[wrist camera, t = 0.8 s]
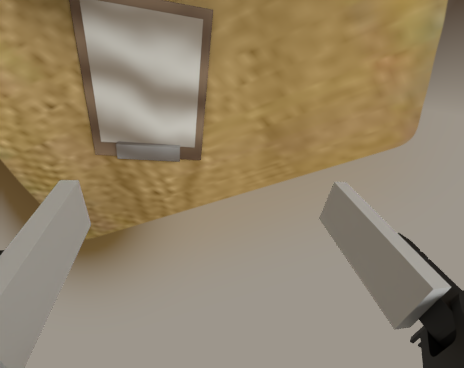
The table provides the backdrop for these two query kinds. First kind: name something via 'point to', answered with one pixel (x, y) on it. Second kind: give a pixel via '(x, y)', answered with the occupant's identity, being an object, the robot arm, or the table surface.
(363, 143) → the table surface
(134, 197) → the table surface
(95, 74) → the clipboard
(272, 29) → the table surface
